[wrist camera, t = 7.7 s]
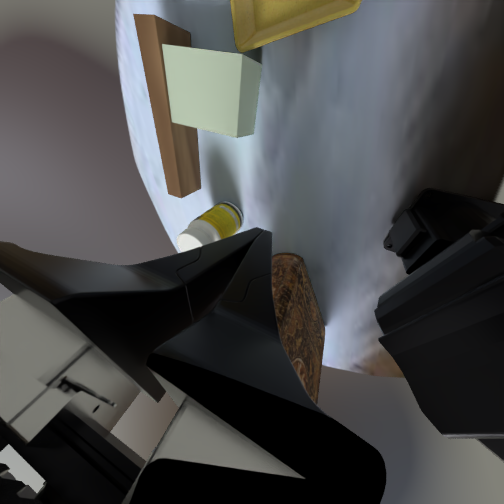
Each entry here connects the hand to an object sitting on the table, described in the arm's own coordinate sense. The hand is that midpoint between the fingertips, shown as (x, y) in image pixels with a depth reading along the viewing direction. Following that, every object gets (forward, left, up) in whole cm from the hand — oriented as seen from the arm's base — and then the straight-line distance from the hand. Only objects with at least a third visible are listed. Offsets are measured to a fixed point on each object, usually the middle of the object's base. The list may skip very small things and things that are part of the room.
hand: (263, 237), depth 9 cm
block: (+10, -5, -13) cm, 17 cm away
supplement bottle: (+9, +8, -13) cm, 18 cm away
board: (+14, -2, -13) cm, 20 cm away
